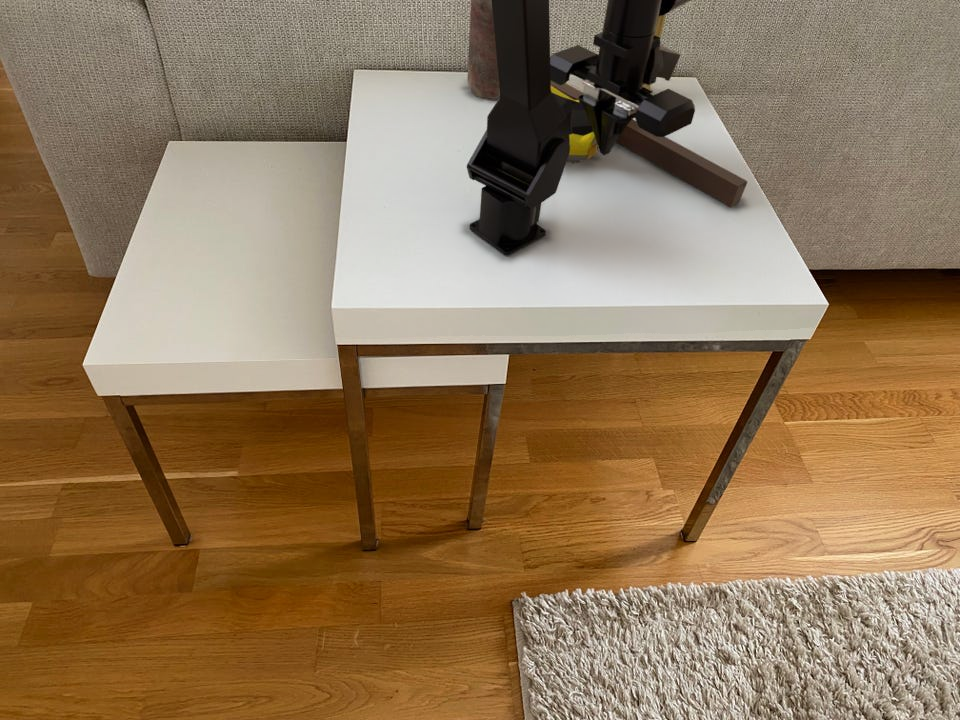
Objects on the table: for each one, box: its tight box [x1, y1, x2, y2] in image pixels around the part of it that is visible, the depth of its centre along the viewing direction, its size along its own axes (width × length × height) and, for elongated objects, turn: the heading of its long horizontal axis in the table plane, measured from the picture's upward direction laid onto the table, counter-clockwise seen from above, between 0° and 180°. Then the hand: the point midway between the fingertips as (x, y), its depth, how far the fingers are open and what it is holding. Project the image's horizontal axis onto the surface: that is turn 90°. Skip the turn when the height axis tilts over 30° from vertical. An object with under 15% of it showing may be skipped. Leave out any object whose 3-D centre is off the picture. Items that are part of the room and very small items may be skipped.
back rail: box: [551, 81, 748, 208], centre depth 94 cm, size 2×34×3 cm, turn 42°
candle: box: [467, 0, 500, 99], centre depth 97 cm, size 8×7×20 cm
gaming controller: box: [551, 86, 598, 164], centre depth 93 cm, size 15×6×10 cm
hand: (604, 153), depth 89 cm, fingers closed
